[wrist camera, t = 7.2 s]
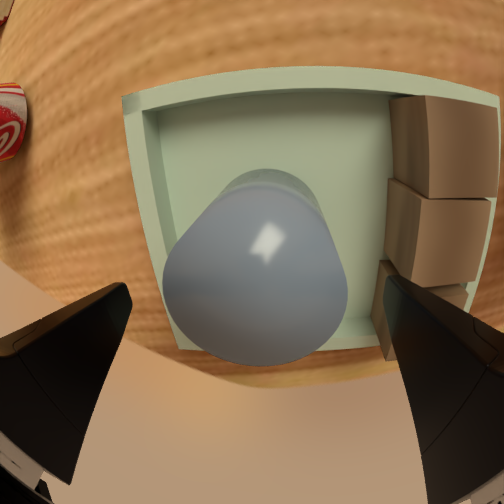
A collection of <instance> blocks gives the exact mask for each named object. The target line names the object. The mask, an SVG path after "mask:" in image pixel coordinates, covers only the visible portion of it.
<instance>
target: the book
mask: <svg viewBox="0 0 504 504" xmlns="http://www.w3.org/2000/svg"><path fill="white" fill-rule="evenodd" d="M13 3H14V0H0V26H1V25H2V23H4V22H5V21H7V18H8V17H9V15H10V12H11V9H12V6H13Z"/></svg>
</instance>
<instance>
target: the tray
mask: <svg viewBox="0 0 504 504" xmlns="http://www.w3.org/2000/svg"><path fill="white" fill-rule="evenodd" d="M420 95H430V96H438V97H445V98H451V99H457V100H463V101H468V102H474V103H478V104H483V105H488V106H492V107H496V108H497V112H498V128H499V171H500V152H501V121H500V102H499V96H496V95H493V94H491V93H488V92H484V91H481V90H478V89H475V88H471V87H468V86H464V85H461V84H457V83H453V82H449V81H445V80H440V79H436V78H431V77H426V76H421V75H415V74H409V73H403V72H396V71H388V70H380V69H370V68H357V67H338V66H292V67H273V68H260V69H250V70H241V71H233V72H226V73H219V74H213V75H207V76H201V77H196V78H191V79H186V80H181V81H177V82H172V83H168V84H164V85H160V86H156V87H152V88H149V89H145V90H142V91H138V92H135V93H131V94H128V95H125V96H122V106H123V115H124V123H125V131H126V138H127V145H128V152H129V158H130V164H131V170H132V176H133V181H134V186H135V192H136V197H137V202H138V206H139V211H140V216H141V220H142V225H143V229H144V233H145V237H146V241H147V245H148V249H149V253H150V257H151V261H152V265H153V268H154V272H155V276H156V279H157V283H158V286H159V290H160V293H161V296H162V300H163V303H164V306H165V309H166V312H167V316H168V319H169V322H170V325H171V328H172V331H173V334H174V337H175V340H176V342H177V345H178V348H179V349H185V350H201V351H204V350H203V349H201V348H200V347H198V346H197V345H195V344H194V343H193V342H192V341H191V340H189V339H188V338H187V337H186V336H185V335H184V334H183V333H182V331H181V330H180V329H179V328H178V326H177V325H176V324H175V322H174V321H173V319H172V317H171V315H170V313H169V311H168V309H167V306H166V303H165V300H164V295H163V287H162V279H163V271H164V266H165V263H166V260H167V258H168V255H169V253H170V252H171V250H172V248H173V247H174V245H175V244H176V243H177V241H178V240H179V239H180V238H181V237H182V235H183V234H184V233H185V232H186V231H187V230H188V228H189V227H190V226H191V225H192V224H193V223H194V222H195V220H196V219H197V218H198V217H199V216H200V215H201V214H202V213H203V211H204V210H205V209H206V208H207V207H208V206H209V205H210V204H211V202H212V201H213V200H214V199H215V198H216V197H217V196H218V195H219V194H220V193H221V191H222V190H223V189H224V188H225V187H226V186H227V185H228V184H229V183H230V182H231V181H232V180H234V179H235V178H236V177H238V176H240V175H241V174H244V173H246V172H249V171H252V170H257V169H277V170H281V171H285V172H287V173H290V174H292V175H294V176H295V177H297V178H299V179H300V180H301V181H303V182H304V183H305V184H306V185H307V186H308V187H309V188H310V189H311V191H312V192H313V194H314V195H315V197H316V199H317V201H318V203H319V206H320V208H321V211H322V213H323V216H324V218H325V221H326V223H327V226H328V228H329V231H330V234H331V236H332V239H333V242H334V244H335V247H336V250H337V252H338V255H339V258H340V261H341V264H342V266H343V269H344V273H345V276H346V280H347V287H348V301H347V306H346V311H345V314H344V316H343V319H342V321H341V323H340V325H339V327H338V328H337V330H336V331H335V333H334V334H333V335H332V336H331V338H330V339H329V340H328V341H327V342H326V343H325V344H323V345H322V346H321V347H320V348H318V349H317V350H316V351H323V350H338V349H351V348H363V347H373V346H380V343H379V340H378V337H377V334H376V331H375V328H374V325H373V322H372V320H371V317H370V314H371V309H372V304H373V298H374V293H375V287H376V281H377V274H378V267H379V260H390V259H389V257H388V256H387V254H386V253H385V251H384V239H385V227H386V211H387V185H388V178H394V177H393V149H392V134H391V122H390V111H389V103H388V100H393V99H399V98H406V97H413V96H420ZM498 183H499V174H498ZM497 192H498V190H497ZM486 199H488V200H489V201H491V202H492V203H491V210H490V217H489V223H488V229H487V234H486V239H485V244H484V249H483V253H482V257H481V262H480V265H479V269H478V273H477V277H476V280H475V281H473V282H466V283H460V284H461V285H462V286H463V287H464V289H465V290H466V291H467V292H468V294H469V295H468V298H467V301H466V304H465V307H464V311H465V312H467V313H469V310H470V307H471V304H472V301H473V298H474V295H475V292H476V289H477V286H478V283H479V280H480V276H481V273H482V269H483V265H484V262H485V258H486V254H487V249H488V245H489V240H490V236H491V231H492V225H493V220H494V214H495V207H496V200H497V198H486Z"/></svg>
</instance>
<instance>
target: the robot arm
mask: <svg viewBox="0 0 504 504" xmlns="http://www.w3.org/2000/svg"><path fill="white" fill-rule="evenodd" d="M383 306H384V310H385V315H386V319H387V324H388V329H389V333H390V338H391V342H392V345H393V348H394V352H395V355H396V358H397V361H398V364H399V368H400V371H401V374H402V378H403V381H404V385H405V388H406V392H407V396H408V400H409V403H410V407H411V411H412V415H413V420H414V424H415V428H416V433H417V438H418V442H419V447H420V452H421V459H422V464H423V471H424V477H425V484H426V491H427V499H428V504H459V503H461V502H463V501H465V500H467V499H471V504H504V333H502V332H500V331H498V330H496V329H494V328H493V327H491V326H489V325H488V324H486V323H484V322H482V321H481V320H479V319H477V318H476V317H473V316H472V315H471V314H469V313H467V312H465V311H464V310H462V309H460V308H458V307H457V306H455V305H453V304H451V303H450V302H448V301H446V300H444V299H443V298H441V297H439V296H437V295H436V294H434V293H432V292H430V291H428V290H427V289H425V288H423V287H421V286H419V285H417V284H416V283H414V282H412V281H410V280H408V279H406V278H404V277H403V276H401V275H398V274H395V275H388V276H387V277H386V280H385V286H384V292H383ZM131 310H132V299H131V297H130V294H129V291H128V288H127V285H126V284H125V283H123V282H115V283H113V284H110V285H108V286H106V287H104V288H102V289H100V290H98V291H96V292H94V293H92V294H90V295H88V296H86V297H83V298H81V299H79V300H77V301H75V302H73V303H71V304H69V305H67V306H65V307H63V308H61V309H59V310H57V311H55V312H53V313H51V314H49V315H47V316H45V317H43V318H42V319H39V320H37V321H35V322H33V323H31V324H29V325H27V326H25V327H23V328H21V329H19V330H17V331H15V332H13V333H11V334H8V335H6V336H4V337H2V338H0V504H54V503H53V502H52V499H51V496H50V493H49V490H48V487H47V484H46V482H45V481H43V480H42V479H40V477H41V475H42V473H43V471H45V472H47V473H49V474H50V475H52V476H54V477H56V478H57V479H59V480H60V481H62V482H64V483H66V484H68V485H70V484H71V481H72V478H73V474H74V471H75V467H76V463H77V460H78V457H79V453H80V450H81V447H82V444H83V441H84V436H85V434H86V431H87V428H88V425H89V422H90V419H91V416H92V413H93V411H94V408H95V405H96V402H97V400H98V397H99V394H100V392H101V389H102V386H103V384H104V381H105V379H106V376H107V374H108V371H109V369H110V366H111V364H112V362H113V359H114V357H115V354H116V352H117V350H118V347H119V345H120V342H121V340H122V337H123V334H124V331H125V328H126V325H127V322H128V319H129V316H130V313H131Z"/></svg>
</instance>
